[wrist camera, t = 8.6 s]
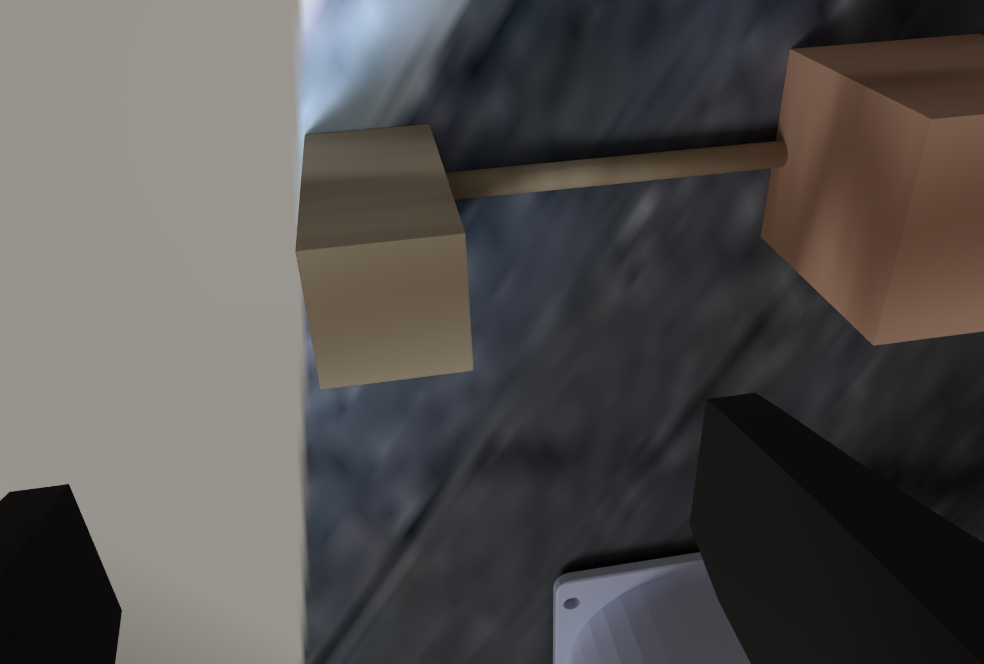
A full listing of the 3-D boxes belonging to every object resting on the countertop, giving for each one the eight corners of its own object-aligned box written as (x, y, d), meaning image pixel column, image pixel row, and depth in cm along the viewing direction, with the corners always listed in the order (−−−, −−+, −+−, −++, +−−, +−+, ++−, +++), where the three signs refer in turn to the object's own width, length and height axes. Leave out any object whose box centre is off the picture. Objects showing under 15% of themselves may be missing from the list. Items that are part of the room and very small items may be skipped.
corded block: (928, 217, 21) (1099, 331, 16) (329, 284, 19) (328, 433, 14) (978, 33, 18) (1197, 104, 14) (297, 89, 16) (284, 193, 12)
